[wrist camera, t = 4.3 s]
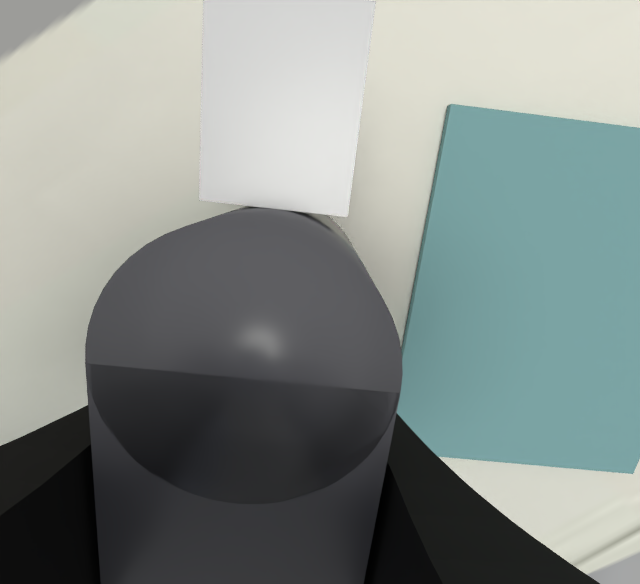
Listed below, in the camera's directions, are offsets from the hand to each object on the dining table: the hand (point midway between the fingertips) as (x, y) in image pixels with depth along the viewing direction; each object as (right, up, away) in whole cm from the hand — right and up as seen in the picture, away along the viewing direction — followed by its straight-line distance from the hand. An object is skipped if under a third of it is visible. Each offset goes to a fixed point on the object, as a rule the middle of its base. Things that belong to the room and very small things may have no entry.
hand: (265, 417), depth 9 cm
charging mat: (+12, +2, +8) cm, 15 cm away
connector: (0, +2, +1) cm, 2 cm away
